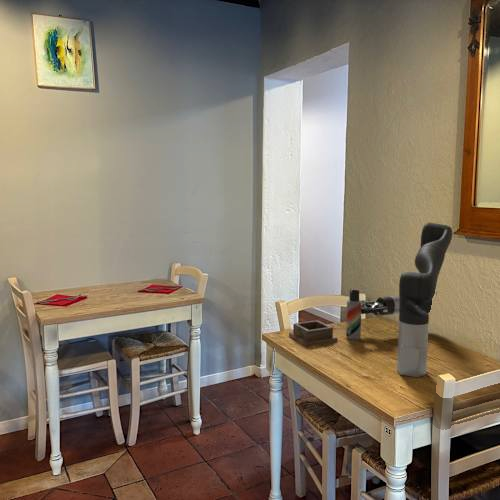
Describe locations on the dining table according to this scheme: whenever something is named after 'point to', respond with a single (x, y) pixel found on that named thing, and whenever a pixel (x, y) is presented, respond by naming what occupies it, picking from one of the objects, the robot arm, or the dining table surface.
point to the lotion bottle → (353, 316)
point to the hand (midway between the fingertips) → (355, 308)
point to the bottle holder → (312, 333)
